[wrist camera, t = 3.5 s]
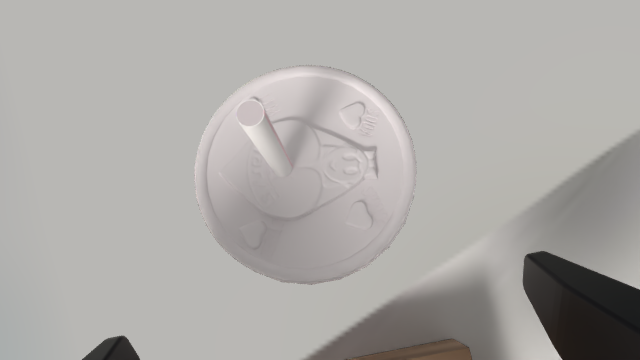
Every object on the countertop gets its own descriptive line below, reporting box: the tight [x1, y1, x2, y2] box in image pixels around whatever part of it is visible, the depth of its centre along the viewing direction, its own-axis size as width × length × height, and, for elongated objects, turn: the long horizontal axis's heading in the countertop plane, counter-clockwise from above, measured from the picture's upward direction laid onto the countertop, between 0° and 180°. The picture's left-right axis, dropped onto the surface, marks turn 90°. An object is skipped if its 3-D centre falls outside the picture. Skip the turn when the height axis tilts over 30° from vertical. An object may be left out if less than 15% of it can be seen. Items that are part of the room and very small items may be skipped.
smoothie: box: [194, 65, 416, 285], centre depth 16 cm, size 6×6×14 cm
